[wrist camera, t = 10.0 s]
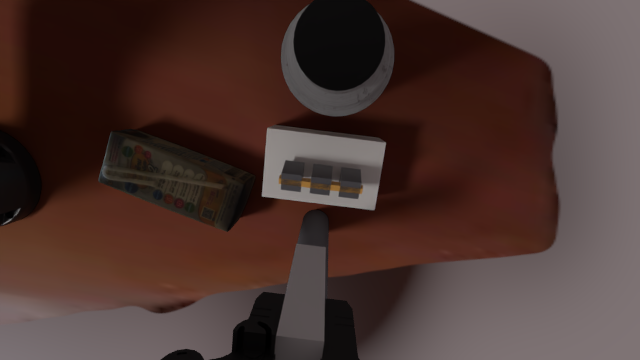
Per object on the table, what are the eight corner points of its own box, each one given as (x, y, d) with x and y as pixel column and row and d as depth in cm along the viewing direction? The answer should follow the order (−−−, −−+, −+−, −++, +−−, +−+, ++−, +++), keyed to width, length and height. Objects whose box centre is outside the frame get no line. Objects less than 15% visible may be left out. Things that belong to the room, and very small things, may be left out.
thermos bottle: (365, 105, 44) (423, 108, 17) (309, 114, 45) (279, 131, 18) (358, 45, 42) (409, -58, 15) (300, 55, 43) (249, -28, 16)
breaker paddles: (282, 175, 41) (278, 189, 38) (283, 159, 39) (278, 172, 37) (359, 185, 41) (360, 199, 38) (363, 169, 39) (364, 183, 37)
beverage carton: (136, 124, 46) (105, 128, 40) (259, 173, 47) (248, 184, 41) (123, 174, 48) (91, 185, 42) (242, 219, 49) (229, 237, 43)
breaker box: (270, 184, 47) (261, 196, 42) (275, 124, 45) (267, 128, 39) (369, 197, 47) (374, 210, 42) (378, 137, 45) (386, 142, 40)
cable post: (301, 232, 49) (278, 332, 28) (304, 208, 48) (282, 293, 27) (327, 235, 49) (323, 338, 28) (330, 211, 48) (329, 299, 27)
